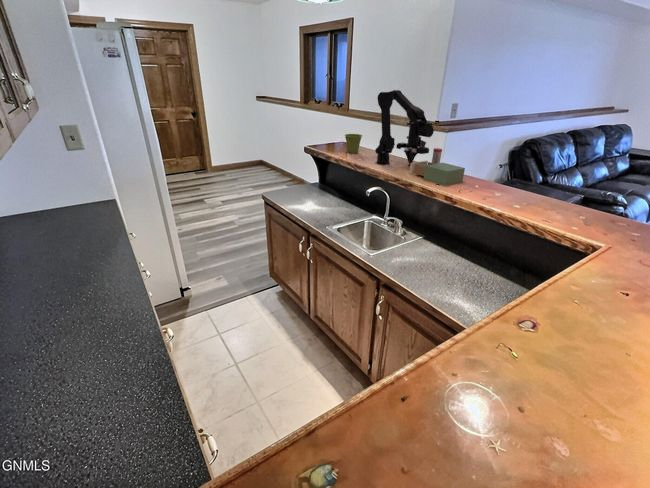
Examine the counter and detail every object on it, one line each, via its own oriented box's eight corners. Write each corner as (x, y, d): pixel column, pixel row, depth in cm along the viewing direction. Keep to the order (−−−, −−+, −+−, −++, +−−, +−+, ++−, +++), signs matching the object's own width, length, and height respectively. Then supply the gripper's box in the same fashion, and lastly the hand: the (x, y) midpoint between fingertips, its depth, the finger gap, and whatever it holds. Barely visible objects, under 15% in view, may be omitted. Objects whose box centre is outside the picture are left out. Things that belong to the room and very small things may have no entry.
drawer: (403, 171, 189) (404, 161, 187) (418, 168, 196) (420, 159, 193) (427, 178, 177) (429, 168, 175) (443, 175, 183) (445, 165, 181)
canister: (429, 171, 194) (433, 149, 189) (430, 169, 198) (433, 147, 193) (438, 172, 193) (442, 150, 188) (438, 170, 197) (442, 148, 192)
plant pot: (342, 150, 241) (343, 133, 236) (359, 150, 242) (360, 133, 237) (345, 154, 230) (346, 136, 225) (362, 154, 232) (364, 136, 227)
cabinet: (423, 179, 179) (425, 165, 176) (440, 175, 186) (442, 162, 183) (445, 185, 169) (447, 171, 166) (462, 182, 176) (465, 168, 173)
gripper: (438, 136, 183) (433, 165, 189) (411, 131, 196) (407, 159, 203) (423, 137, 177) (419, 168, 184) (397, 132, 190) (394, 161, 197)
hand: (410, 164), depth 192 cm, fingers closed
